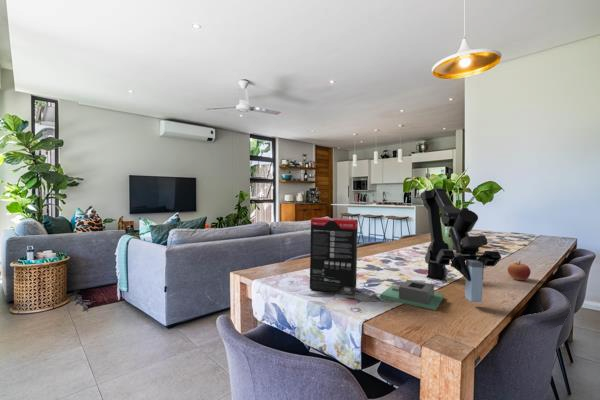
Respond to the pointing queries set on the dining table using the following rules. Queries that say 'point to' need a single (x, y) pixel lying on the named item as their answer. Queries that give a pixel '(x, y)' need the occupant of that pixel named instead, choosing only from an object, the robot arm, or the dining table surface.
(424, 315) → the dining table surface
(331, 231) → the graphics card box
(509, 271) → the apple
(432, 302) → the header board
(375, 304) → the dining table surface
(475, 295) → the light blue tall block
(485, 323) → the dining table surface
